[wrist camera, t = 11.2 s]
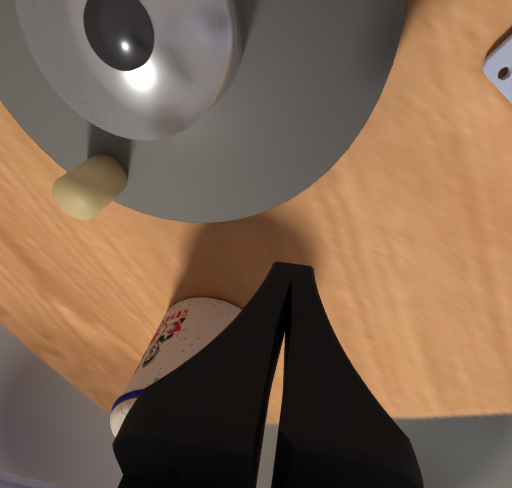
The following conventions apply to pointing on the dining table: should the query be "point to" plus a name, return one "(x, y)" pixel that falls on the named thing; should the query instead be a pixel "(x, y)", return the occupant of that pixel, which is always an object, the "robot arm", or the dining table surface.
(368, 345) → the dining table surface
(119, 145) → the turntable
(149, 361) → the teacup with lid
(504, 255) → the dining table surface
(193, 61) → the cover
